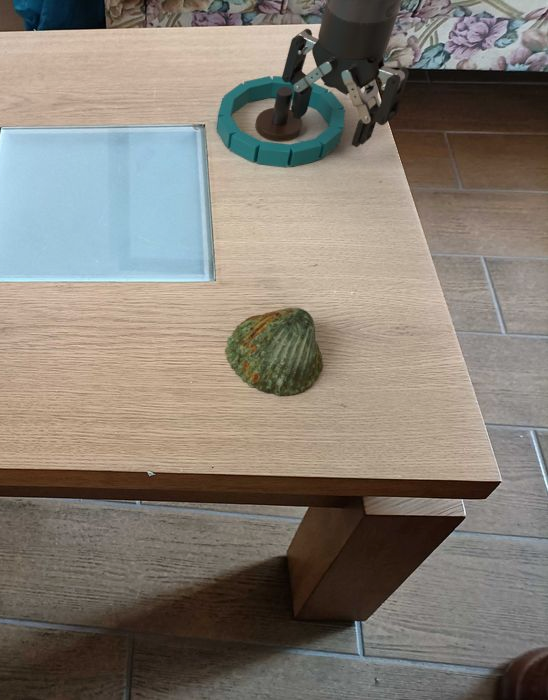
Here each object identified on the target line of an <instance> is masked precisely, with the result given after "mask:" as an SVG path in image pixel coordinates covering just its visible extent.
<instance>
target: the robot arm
mask: <svg viewBox="0 0 548 700" xmlns="http://www.w3.org/2000/svg"><path fill="white" fill-rule="evenodd" d="M325 1H326V2H325V5H324V10H323V14H322V17H321V23H320V27H319V31H318V36H317V37H318V38H317V37H315V36H313V32H312V30H311V29H309V28H305V29H303V30H302V31H300V32H299V33H297V34H296V35H295V36H294V37H292V38H291V41H290V45H289V48H288V52H287V56H286V59H285V64H284V68H283V71H282V76H281V77H282V79H283V81H284V82H286V83H288V82H290V83H291V84H292V85H293V89H294V91H295V92H294V96H293V100H292V101H291V105H290V110H291V111H292V112H293V117H294V118H296V119H300V118H303V116H305V115H306V113H307V112H308V109H309V106H308V105H309V101H310V97H311V93H312V89H313V87H311V86H310V85H311V84H313V83H316V82H317V81H318V80H320V79H321V81H322V82H323V86H326V87H328V88H331V89H336V90H337V91H339V92H340V93H341V94H344V95H346V96H347V95H348V94H349V98H350V101H351V103H352V106H353V107H354V108H357V111H358V114H359V118H360V119H359V120H358V121H357V125H356V128H355V132H354V134H353V136H352V140H351V146H353V147H354V148H358V147H359V146H360V145H361V146H363V145H364V144H366V142H368V141H369V139H371V138H372V136H373V133H374V130H375V127H376V125H377V124H378V125H379V126H385V124H387V123H388V122H389V121H390V120H391V119H392V118H394V117H395V116H396V115H397V114H398V111H399V107H400V105H401V101H402V97H403V94H404V91H405V88H406V84H407V82H408V78H409V74H410V72H409V69H408V68H407V67H405V66H402V67H400V68H398V70H397V69H394V68H392V67H389V66H385V60H384V57H385V53H386V51H387V49H388V46H389V42H390V40H391V37H392V34H393V30H394V28H395V24H396V21H397V19H398V15H399V12H400V9H401V6H402V4H403V0H325ZM310 52H311V53H312V57H313V59H314V62H315V65H316V67H315V68H314V69H312V70H311V71H310V72H307V74H306V73H305V72H303V68H304V64H305V61H306V58H307V55H308V53H310ZM377 78H378V79H379V80H380V82H381V84H380V85H381V86H380V90H381V91H383V93H382V96H381V101H380V99H379V96H378V94H379V87H378V84H377V81H376V79H377ZM362 88H364V90H363V92H362V90H361V89H362Z"/></svg>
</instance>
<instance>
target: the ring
mask: <svg viewBox="0 0 548 700" xmlns="http://www.w3.org/2000/svg"><path fill="white" fill-rule="evenodd" d="M310 86H311V87H313V89H312V93H311V97H310V101H309V105H308V107H310V108H312V109H314V110H316V111H317V112H318V113H319V114H320V116H321V117H322V119H323V120H324V121H325V122H326V124H327V127H326V129H324V130H323V131H322V132H321V133H319V135H317V136H316V137H314V138H312V139H311V138H310V139H306V140H303V141H298V142H294V143H281V142H273V141H272V142H271V141H264V140H261V139H259V138H256V137H255V136H252V135H250V134H248V133H246V132H245V131H242V130H241V129H240V127H239V126H238V124H237V123H236V121H235V120H234V118H233V117H232V116H233V114H235V113H236V112H237V111H239V110H240V109H241V108H243V107H244V106H245V105H246V104H248V103H253V102H258V101H261V100H265V99H266V100H267V99H270V98H274V99H276V95H277V90H278V89H279V88H280V87H289V88H291V89H292V90H293V96H294V92H295V91H294V89H293V85H292V84H291V83H290V82H288V83H286V82H284V81H283V79H282V76H279V75H272V77H271V75H267V76H264V77H259V78H258V77H257V78H253V79H248V80H245V81H243V82H240V83H239V84H238V85H236V86H235V87H234V88H232V89H230V91H228V92H226V94H224V95H223V97H221V101H220V106H219V109H218V113H217V121H216V133H217V134H218V136H219V137H220V139H221V141H222V142H223V144H224V145H225V147H226V149H229V151H230V152H232V153H234V154H236V155H238V156H239V157H241V158H243V159H245V160H247V161H248V162H250V163H255V162H256V164H257V165H264V166H272V167H280V168H287V167H288V166H289V167H290V168H293V167H297V166H302V165H306V164H309V163H314V162H318V161H319V160H323V158H325V157H326V156H328V154H329V153H330V152H331V151H333V150H334V149H335V148H336V147H338V145H339V144H340V141H341V138H342V135H343V131H344V129H345V128H344V127H345V117H346V109H345V106H344V105H343V104H342V102H341V101H340V100H339V99H338V98H337V97H336V95H335V93H333V92H332V90H331V91H329V89H328V88H326V87H324V86H321V85H320V84H317V83H316V82H314V83H313V84H311V85H310ZM293 96H292V101H293Z"/></svg>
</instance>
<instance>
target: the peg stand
mask: <svg viewBox="0 0 548 700" xmlns="http://www.w3.org/2000/svg"><path fill="white" fill-rule="evenodd" d="M292 96H293V90H292V89H291V88H289V87H280V88H279V89H278V90H277V95H276V98H275V101H274V106H273V107H270V108H267V109H264V110H262V111H261V112H260V113H259V114H258V115H257V117H256V121H255V130H256V132H257V134H258V135H260V137H262V138H264V139H266V140H269V141H272V142H273V141H274V142H286V141H290V140H293V139H295V138H296V137H298V136H299V135H300V133H301V131H302V128H303V117H301V118H300V119H296V118H294V117H293V112H292V111H291V106H292V101H293V100H292Z"/></svg>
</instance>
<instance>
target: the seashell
mask: <svg viewBox="0 0 548 700" xmlns="http://www.w3.org/2000/svg"><path fill="white" fill-rule="evenodd" d="M226 343H227V346H226V347H225V349H224V351H225V354H226V359H227V361H228V363H229V366H230V368H231V369H232V370H234V371H235V374H236V375H237V376H238V377H240V378H241V379H242V381H243V382H244V383H247V385H248V386H250V387H251V388H256V389H257V390H258V391H261V392H264V393H265V394H273V395H275V396H279V397H281V396H285V397H287V396H292V395H297V394H300V393H302V392H305V391H306V390H308V389H309V388H311V387H312V386H313V385H314V384H315V382H316V381H317V380H318V378H319V377H320V375H321V373H322V371H323V368H324V362H323V354H322V352H321V350H320V347H319V343H318V342H317V341H316V328H315V322H314V318H313V316H312V315H311V314H310V313H309V312H308V311H307V310H305V309H303V308H300V307H285V308H279V309H277V310H273V311H270V312H266V313H263V314H257V315H256V314H255V315H251V316H248V317H247V318H245V320H244V321H242V322H240V323H239V324H237V325H236V328H235V329H234V330H233V331H232V333H231V335H230V336H229V337H228V338H227V342H226Z"/></svg>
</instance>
